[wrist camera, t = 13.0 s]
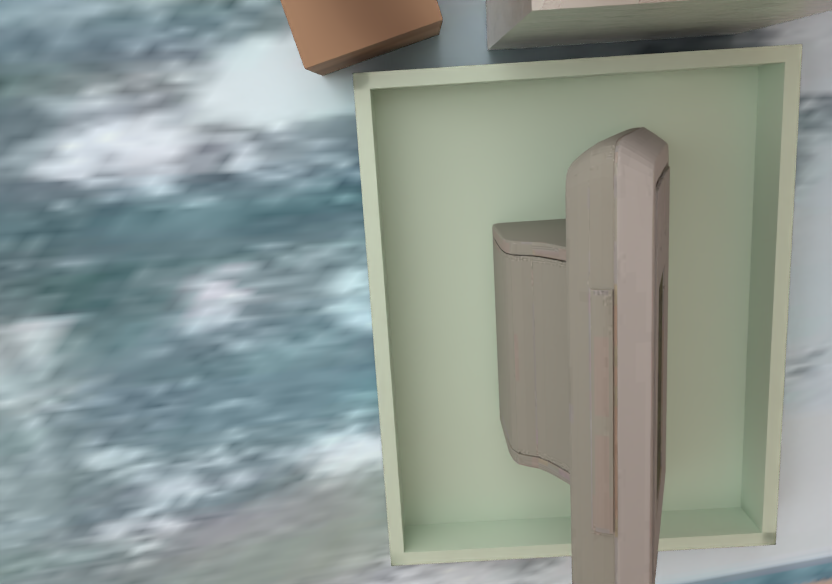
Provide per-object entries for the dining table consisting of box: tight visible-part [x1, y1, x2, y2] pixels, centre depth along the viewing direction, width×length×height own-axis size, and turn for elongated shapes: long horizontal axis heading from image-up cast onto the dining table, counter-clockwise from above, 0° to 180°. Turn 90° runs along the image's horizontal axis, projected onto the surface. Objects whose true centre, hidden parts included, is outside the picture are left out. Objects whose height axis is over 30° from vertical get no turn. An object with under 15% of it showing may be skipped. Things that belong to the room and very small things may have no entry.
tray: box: [353, 44, 802, 566], centre depth 32 cm, size 17×21×3 cm
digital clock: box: [492, 127, 670, 584], centre depth 27 cm, size 16×9×11 cm, turn 172°
